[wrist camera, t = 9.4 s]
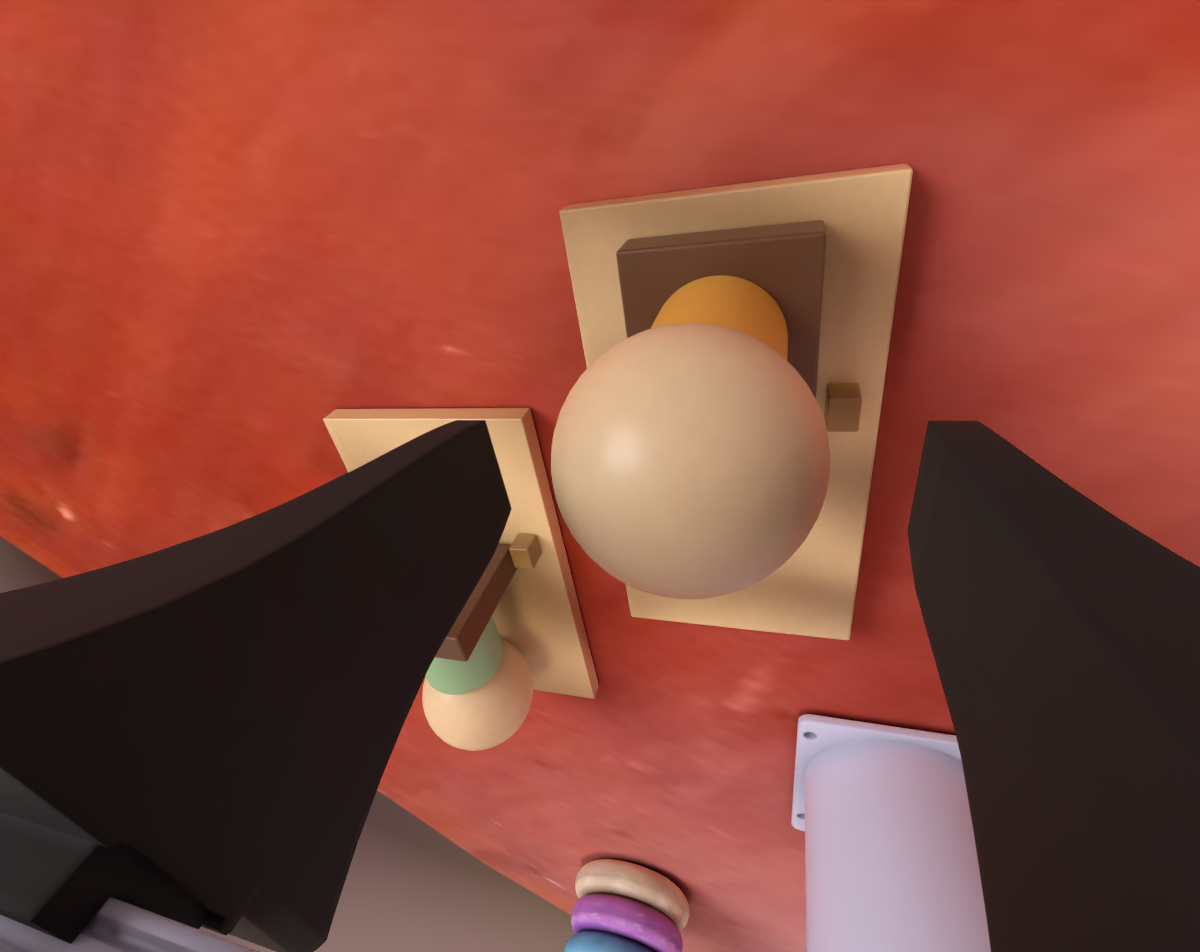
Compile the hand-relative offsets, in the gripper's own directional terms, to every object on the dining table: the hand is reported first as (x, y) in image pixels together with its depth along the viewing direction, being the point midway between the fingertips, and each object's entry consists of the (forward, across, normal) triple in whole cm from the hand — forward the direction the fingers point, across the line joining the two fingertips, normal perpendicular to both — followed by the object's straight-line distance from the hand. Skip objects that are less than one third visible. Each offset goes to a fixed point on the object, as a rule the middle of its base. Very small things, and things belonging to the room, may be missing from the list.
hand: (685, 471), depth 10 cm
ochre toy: (+2, 0, +2) cm, 3 cm away
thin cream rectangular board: (+8, +10, +10) cm, 17 cm away
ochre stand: (+8, 0, +4) cm, 9 cm away
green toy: (+7, +10, +13) cm, 18 cm away
